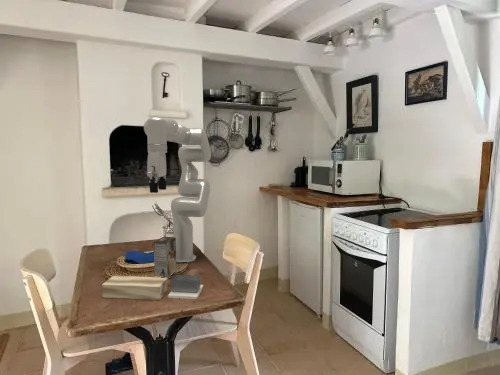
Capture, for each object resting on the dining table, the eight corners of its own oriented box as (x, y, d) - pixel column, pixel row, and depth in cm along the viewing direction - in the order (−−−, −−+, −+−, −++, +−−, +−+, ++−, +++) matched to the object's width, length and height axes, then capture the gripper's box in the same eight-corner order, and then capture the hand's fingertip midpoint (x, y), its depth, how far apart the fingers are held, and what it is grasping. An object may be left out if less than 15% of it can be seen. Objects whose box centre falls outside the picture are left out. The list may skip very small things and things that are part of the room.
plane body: (114, 287, 135) (113, 275, 135) (167, 289, 133) (167, 277, 133) (102, 297, 126) (102, 284, 126) (159, 300, 124) (159, 287, 124)
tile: (176, 286, 137) (176, 283, 137) (203, 287, 136) (203, 284, 136) (168, 297, 126) (167, 295, 126) (196, 299, 125) (196, 296, 125)
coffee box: (163, 270, 154) (163, 236, 152) (176, 271, 153) (176, 237, 151) (154, 278, 145) (153, 241, 143) (168, 279, 144) (167, 242, 142)
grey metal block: (175, 286, 134) (175, 274, 133) (200, 287, 133) (200, 275, 133) (171, 292, 129) (171, 279, 128) (197, 293, 128) (197, 280, 128)
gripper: (156, 148, 145) (156, 188, 147) (139, 148, 128) (140, 193, 130) (173, 149, 144) (173, 188, 146) (158, 149, 127) (159, 194, 129)
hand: (158, 191), depth 138 cm, fingers open, 9 cm apart
